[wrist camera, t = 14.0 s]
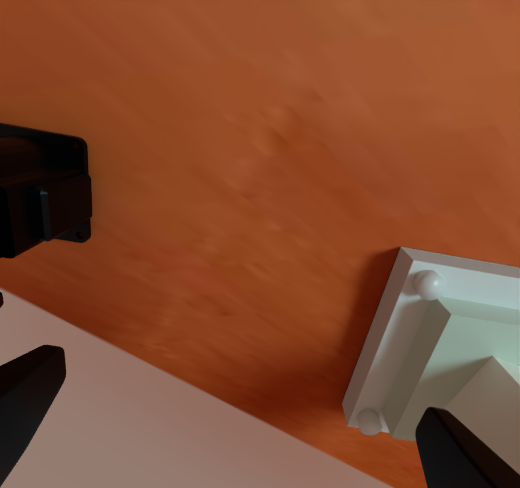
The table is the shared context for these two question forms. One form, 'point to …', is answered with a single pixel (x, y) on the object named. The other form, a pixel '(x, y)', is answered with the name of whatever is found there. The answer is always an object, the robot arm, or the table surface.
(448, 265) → the studded pedestal base
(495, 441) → the tall brick
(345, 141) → the table surface
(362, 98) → the table surface
